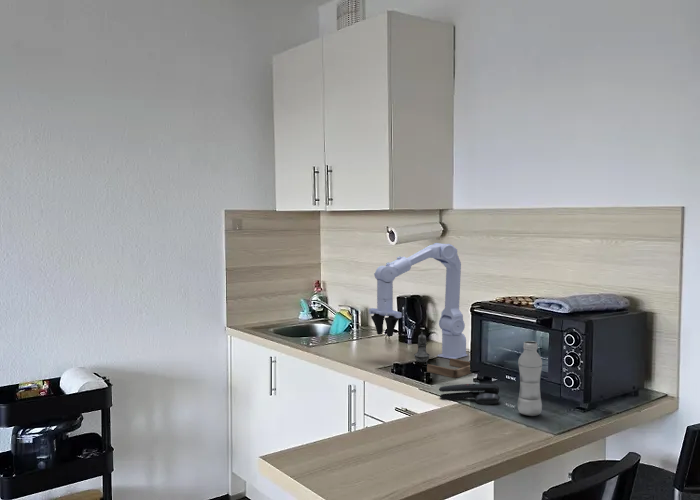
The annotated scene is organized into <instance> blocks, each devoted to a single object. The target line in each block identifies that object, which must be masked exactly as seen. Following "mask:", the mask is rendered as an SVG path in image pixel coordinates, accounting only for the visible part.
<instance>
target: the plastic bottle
mask: <svg viewBox="0 0 700 500" xmlns="http://www.w3.org/2000/svg"><path fill="white" fill-rule="evenodd" d="M522 348H523V352H521V354H520V355H519V358H518V361H517V362H518V371H519V372H518V373H519V394H518V398H517V409H518V412H519V413H520V414H521V415H524V416H529V417H536V416H538V415H540V414H541V412H542V409H543V404H542V402H543V401H542V398H541V397H542V396H541V377H542V376H541V375H542V369H543V360H542V357H541V355H540V354H539V353H538V351H537V350H538V349H539V347H538V342H537V341H535V340H525V341H523V347H522Z"/></svg>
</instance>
